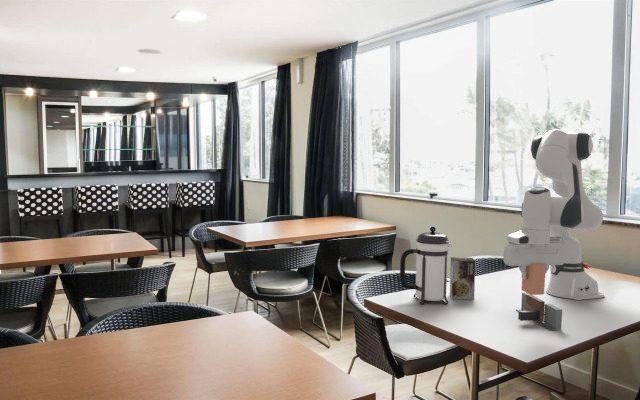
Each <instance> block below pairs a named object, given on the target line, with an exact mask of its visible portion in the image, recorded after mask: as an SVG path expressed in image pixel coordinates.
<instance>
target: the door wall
mask: <svg viewBox="0 0 640 400" xmlns="http://www.w3.org/2000/svg"><path fill="white" fill-rule="evenodd" d="M526 295H531V294H529V293H527V292H525V291H523V292H521V309H516V310H515V312H517V313H519V311H526ZM532 296H534V297H536V298H538V296H536V295H532ZM562 317H563V309H562V308H560V307H557V306H555V305H553V304H552V303H545V306H544V322H539V321H537V320H532V322H534V323H536V324H537V325H539V326H541V327H543V328H544V329H546V330H548V331H562V321H563V318H562Z"/></svg>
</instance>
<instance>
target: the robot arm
mask: <svg viewBox="0 0 640 400" xmlns="http://www.w3.org/2000/svg"><path fill="white" fill-rule="evenodd" d="M593 149H594V142H593V140H592V137H591V135H590V134H589V133H587V132H565V131H564V130H560V129H551V130H548V131H547V132H546V133H545V134H541V135H537V136H535V137H534V138H533V139H532V141H531V144H530V153H531V156H532V158H533V159H534V160H535V167H536V169H537V170H538V172H539V173H540V174H542V176H544V177H545V178H548V179H551V181H552V183H551V184H552V189H553V191H554V193H555V194H556V195H558V196H560V197H558V196H557V197H556V196H551V190H550V189H549V188H547V187H541V186H536V187H535V186H534V187H529V188H527V189H526V190H525V192H524V196H523V202H522V203H521V212H520V213H521V217H522V225H521V229H520V230H518V231H516V232H515V231H514V232H512V233H510V234H507V235H506V241H507V243H506V244H505V246H504V248H503V258H502V259H503V263H504V264H505V265H506V266H510V267H516V266H517V267H518V269H519V271H520V273H521V279H522V278H523V279H528V278H529V277H528V276H529V274H528V273H526V272H525V270H524V269H526V266H530V265H531V264H546V269H545V275H546V274H547V272H548V271H549V270H550V276H549V277H550V278H549V282H548V285H547V288H546V290H545V292H546V293H547V294H548V295H551V296H554V297H558V298H564V299H570V300H575V301H576V300H577V301H580V300H581V301H583V300H590V299H600V298H605V294H604V293H603V292H602V291H599V284H598V282H597V280H596V278H593V277H592V276H591V275H590V274H588V272H586V271H585V269H590V267H591V265H590V264H589V263H586V262H585V263H583V262H582V252H583V251H582V249H583V247H582V243H581V242H580V241H579V240H578V239H577V238H575V237H574V236H572V235H571V233H570V231H569V230H577V231H592V230H593V231H594V230H597V229H599V228H600V226H601V225H602V224H603V220H604V214H603V211H602V209H601V207H600V206H598V205H596V204H595V203H593V201H591V200H590V198H589V197H588V195H587V193H586V192H585V191H586V190H585V189H584V183H583V173H582V161H583V160H586V159H588V158H589V157H590V156H591V155H592V152H593Z"/></svg>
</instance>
